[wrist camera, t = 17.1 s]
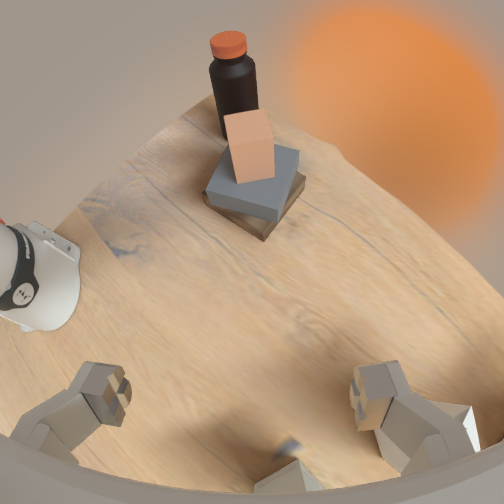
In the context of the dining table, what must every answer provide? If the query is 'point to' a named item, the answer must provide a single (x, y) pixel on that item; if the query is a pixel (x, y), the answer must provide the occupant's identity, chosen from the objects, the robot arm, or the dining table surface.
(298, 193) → the tower base block
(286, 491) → the supplement box
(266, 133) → the terracotta block
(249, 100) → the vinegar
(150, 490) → the robot arm
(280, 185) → the tower top block
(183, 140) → the dining table surface
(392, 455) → the milk carton
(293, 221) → the dining table surface
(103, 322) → the dining table surface
